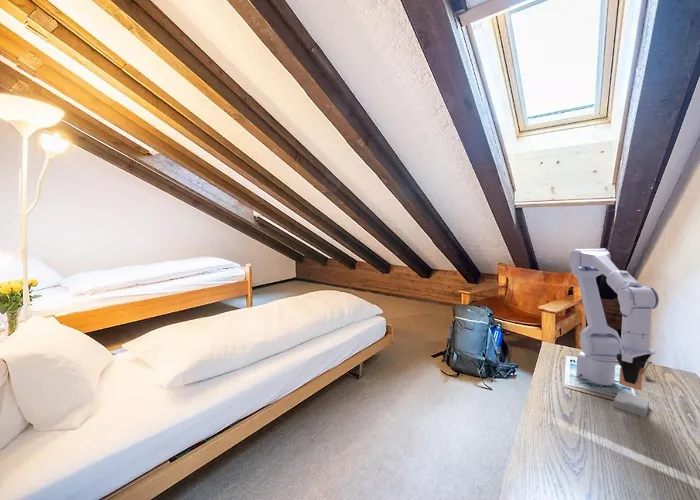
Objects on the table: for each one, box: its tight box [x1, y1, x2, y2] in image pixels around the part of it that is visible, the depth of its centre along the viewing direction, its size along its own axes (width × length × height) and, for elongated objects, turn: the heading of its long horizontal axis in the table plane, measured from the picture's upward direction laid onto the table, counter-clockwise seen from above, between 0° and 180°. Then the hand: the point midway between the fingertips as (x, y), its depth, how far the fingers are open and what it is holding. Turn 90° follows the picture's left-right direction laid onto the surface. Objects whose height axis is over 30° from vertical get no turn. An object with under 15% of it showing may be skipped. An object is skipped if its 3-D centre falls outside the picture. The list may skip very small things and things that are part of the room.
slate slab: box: [613, 390, 650, 418], centre depth 87 cm, size 6×6×2 cm
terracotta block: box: [618, 367, 647, 392], centre depth 86 cm, size 4×4×4 cm
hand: (632, 379), depth 86 cm, fingers closed on terracotta block, 4 cm apart
